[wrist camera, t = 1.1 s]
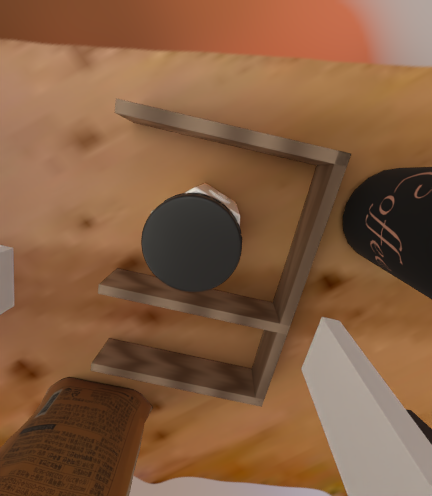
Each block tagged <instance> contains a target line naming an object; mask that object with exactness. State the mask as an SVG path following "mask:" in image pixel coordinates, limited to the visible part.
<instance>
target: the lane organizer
mask: <svg viewBox="0 0 432 496" xmlns="http://www.w3.org/2000/svg"><path fill="white" fill-rule="evenodd" d="M115 113H116V114H118V115H120V116H122V117H124V118H126V119H128V120H130V121H132V122H133V123H138V124H142V125H146V126H150V127H155V128H159V129H163V130H168V131H172V132H176V133H180V134H185V135H189V136H193V137H198V138H202V139H206V140H210V141H215V142H219V143H223V144H228V145H232V146H236V147H240V148H245V149H249V150H253V151H258V152H262V153H266V154H270V155H275V156H279V157H283V158H288V159H292V160H296V161H300V162H305V163H309V164H313V165H317V167H316V170H315V173H314V176H313V179H312V182H311V185H310V188H309V192H308V195H307V198H306V201H305V204H304V207H303V210H302V213H301V216H300V220H299V223H298V226H297V229H296V232H295V235H294V238H293V241H292V244H291V248H290V251H289V254H288V257H287V260H286V263H285V266H284V269H283V272H282V276H281V279H280V282H279V285H278V288H277V291H276V294H275V297H274V300H273V303H272V302H268V301H263V300H258V299H254V298H249V297H245V296H240V295H236V294H231V293H227V292H222V291H218V290H213V289H210V290H206V291H201V292H186V291H181V290H177V289H175V288H172V287H170V286H168V285H166V284H165V283H163V282H162V281H161V280H159V279H158V278H157V277H154V276H150V275H145V274H140V273H136V272H131V271H127V270H122V269H118V268H117V269H116V270H115V271H113V272H112V273H111V274H110V275H109V276H108V277H107V278H105V279H104V280H103V281H102V282H101V283H100V284H99V288H98V294H102V295H107V296H112V297H116V298H121V299H125V300H130V301H135V302H139V303H144V304H148V305H153V306H158V307H162V308H167V309H171V310H176V311H181V312H185V313H190V314H194V315H199V316H203V317H208V318H213V319H217V320H222V321H226V322H231V323H236V324H240V325H245V326H249V327H254V328H259V329H263V330H264V332H263V335H262V338H261V341H260V344H259V347H258V350H257V353H256V357H255V360H254V363H253V366H252V369H250V368H245V367H240V366H236V365H231V364H226V363H222V362H217V361H212V360H208V359H203V358H198V357H194V356H189V355H184V354H180V353H175V352H170V351H166V350H161V349H156V348H152V347H147V346H142V345H138V344H133V343H128V342H124V341H119V340H114V339H110V338H109V339H108V341H107V342H106V344H105V345H104V346H103V348H102V349H101V351H100V352H99V353H98V355H97V356H96V358H95V359H94V360H93V362H92V364H91V371H95V372H100V373H104V374H109V375H114V376H119V377H123V378H128V379H133V380H138V381H142V382H147V383H152V384H157V385H161V386H166V387H171V388H175V389H180V390H185V391H190V392H194V393H199V394H204V395H209V396H213V397H218V398H223V399H228V400H232V401H237V402H242V403H247V404H251V405H256V406H261V407H262V404H263V401H264V399H265V396H266V393H267V390H268V387H269V385H270V382H271V379H272V376H273V373H274V370H275V368H276V365H277V362H278V359H279V356H280V354H281V351H282V348H283V345H284V342H285V339H286V337H287V334H288V331H289V328H290V325H291V323H292V320H293V317H294V314H295V311H296V308H297V306H298V303H299V300H300V297H301V294H302V292H303V289H304V286H305V283H306V280H307V277H308V275H309V272H310V269H311V266H312V263H313V261H314V258H315V255H316V252H317V249H318V246H319V244H320V241H321V238H322V235H323V232H324V229H325V227H326V224H327V221H328V218H329V215H330V213H331V210H332V207H333V204H334V201H335V198H336V196H337V193H338V190H339V187H340V184H341V182H342V179H343V176H344V173H345V170H346V167H347V165H348V162H349V159H350V156H351V154H350V153H346V152H342V151H337V150H333V149H329V148H325V147H320V146H316V145H312V144H308V143H303V142H299V141H295V140H291V139H286V138H282V137H278V136H274V135H269V134H265V133H261V132H257V131H252V130H248V129H244V128H240V127H235V126H231V125H227V124H223V123H218V122H214V121H210V120H206V119H201V118H197V117H193V116H189V115H184V114H180V113H176V112H171V111H167V110H163V109H159V108H154V107H150V106H146V105H142V104H137V103H133V102H129V101H125V100H120V99H116V104H115Z"/></svg>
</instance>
